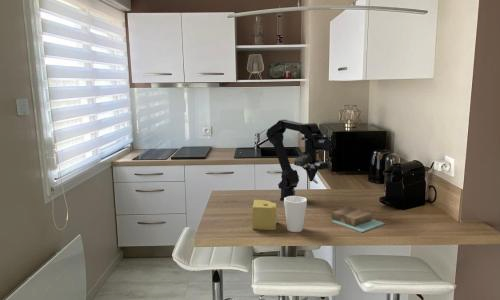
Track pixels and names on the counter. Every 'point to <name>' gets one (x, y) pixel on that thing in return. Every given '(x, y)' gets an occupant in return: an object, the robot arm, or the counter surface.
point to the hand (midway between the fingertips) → (311, 181)
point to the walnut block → (351, 216)
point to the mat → (362, 225)
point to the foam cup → (295, 212)
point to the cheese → (264, 215)
